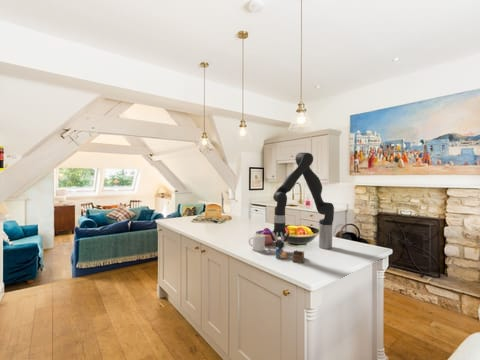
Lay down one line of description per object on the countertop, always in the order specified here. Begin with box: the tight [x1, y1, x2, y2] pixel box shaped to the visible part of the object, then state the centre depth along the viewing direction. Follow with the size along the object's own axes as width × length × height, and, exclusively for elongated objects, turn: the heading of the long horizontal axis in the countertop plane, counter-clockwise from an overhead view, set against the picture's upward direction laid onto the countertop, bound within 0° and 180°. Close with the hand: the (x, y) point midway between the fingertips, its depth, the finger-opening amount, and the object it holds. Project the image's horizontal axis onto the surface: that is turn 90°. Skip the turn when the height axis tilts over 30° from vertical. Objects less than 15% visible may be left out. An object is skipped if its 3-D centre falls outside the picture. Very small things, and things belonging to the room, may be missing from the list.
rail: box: [267, 247, 298, 257], centre depth 171 cm, size 3×19×3 cm, turn 75°
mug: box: [248, 233, 266, 252], centre depth 181 cm, size 12×8×10 cm
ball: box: [280, 252, 288, 260], centre depth 162 cm, size 4×4×4 cm
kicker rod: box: [274, 238, 284, 259], centre depth 167 cm, size 12×5×9 cm, turn 165°
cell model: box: [255, 227, 276, 245], centre depth 199 cm, size 17×20×11 cm
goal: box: [292, 250, 305, 264], centre depth 160 cm, size 10×6×4 cm, turn 165°
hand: (279, 247), depth 171 cm, fingers closed on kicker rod, 3 cm apart
